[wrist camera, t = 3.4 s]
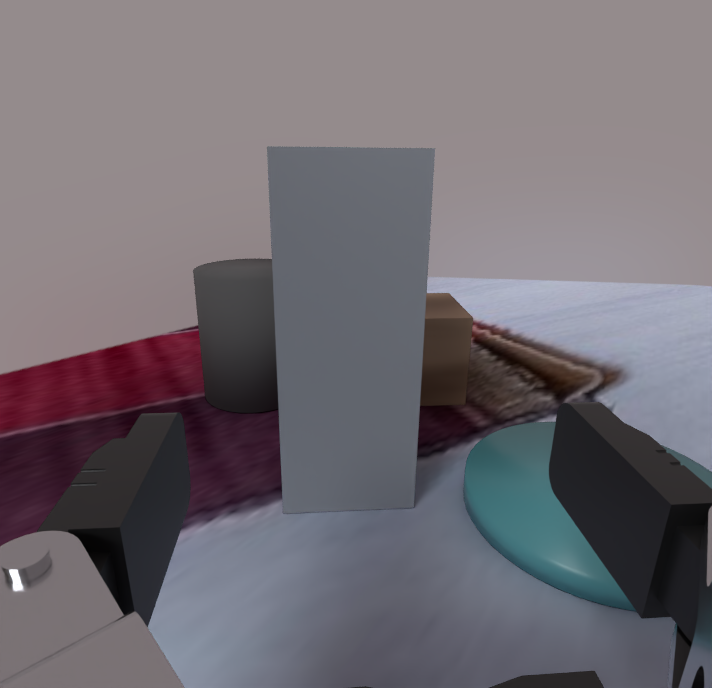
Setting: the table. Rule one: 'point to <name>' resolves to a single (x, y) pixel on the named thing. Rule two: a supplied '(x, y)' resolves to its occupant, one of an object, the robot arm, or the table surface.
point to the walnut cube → (445, 351)
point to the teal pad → (538, 512)
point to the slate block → (349, 321)
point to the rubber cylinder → (237, 334)
